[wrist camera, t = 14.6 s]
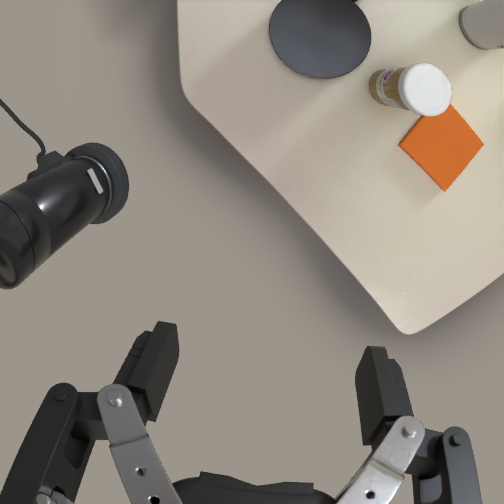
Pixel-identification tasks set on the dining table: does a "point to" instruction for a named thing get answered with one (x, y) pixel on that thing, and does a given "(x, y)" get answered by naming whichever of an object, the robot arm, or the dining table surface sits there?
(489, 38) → the travel mug
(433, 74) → the sprinkles bottle
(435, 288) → the dining table surface
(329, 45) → the pan
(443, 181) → the orange square coaster
